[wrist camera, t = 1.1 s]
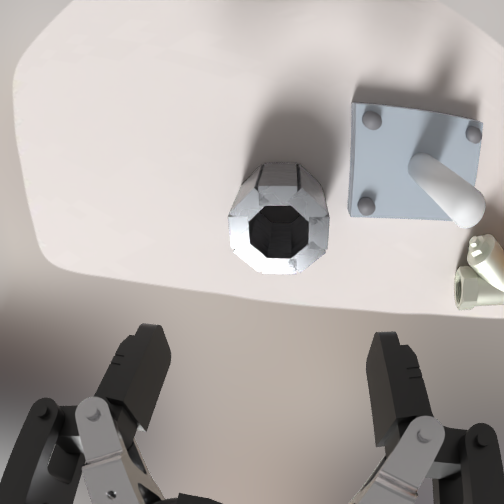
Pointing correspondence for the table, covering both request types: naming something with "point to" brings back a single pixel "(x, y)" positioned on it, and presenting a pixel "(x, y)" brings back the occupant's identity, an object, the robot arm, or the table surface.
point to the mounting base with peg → (414, 165)
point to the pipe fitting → (481, 275)
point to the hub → (279, 234)
